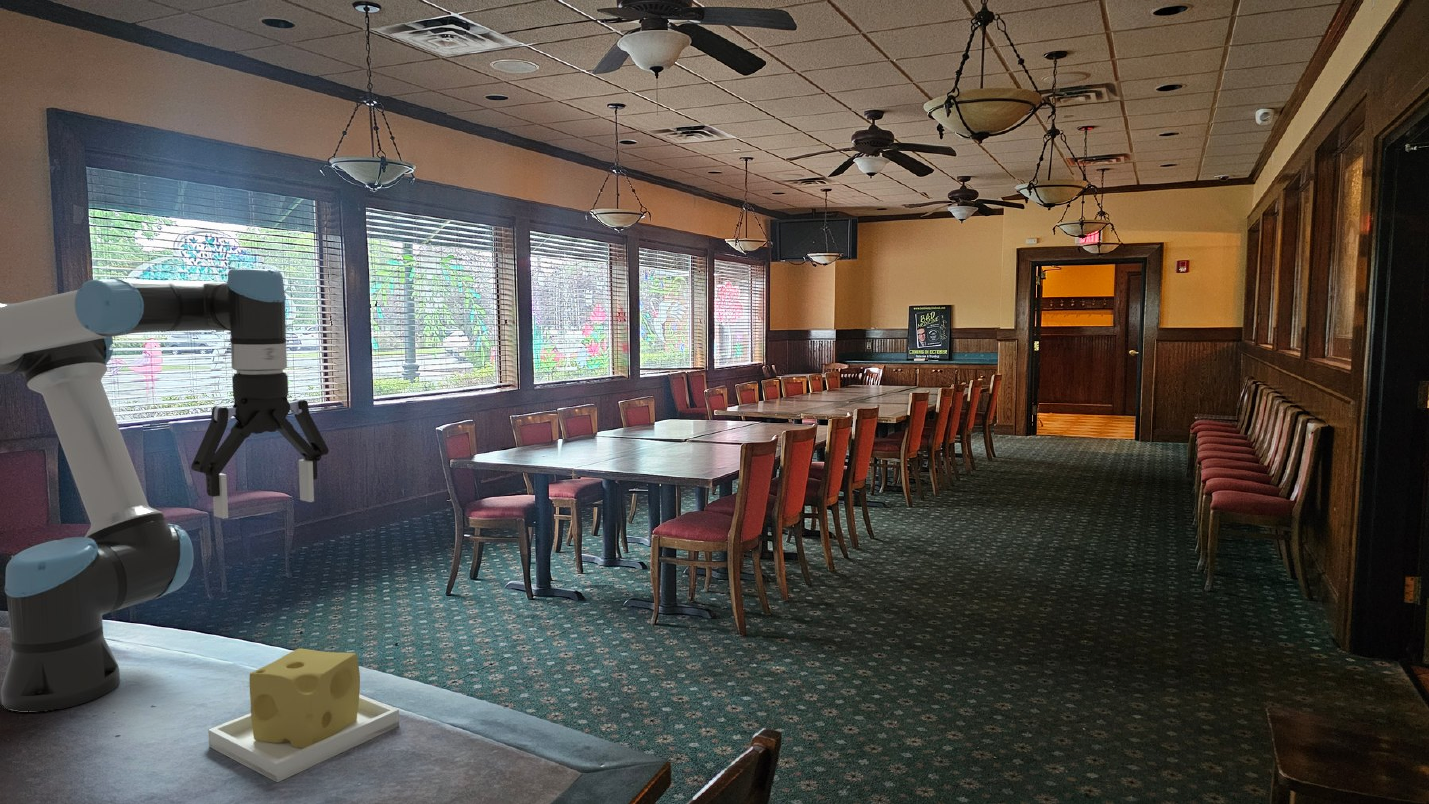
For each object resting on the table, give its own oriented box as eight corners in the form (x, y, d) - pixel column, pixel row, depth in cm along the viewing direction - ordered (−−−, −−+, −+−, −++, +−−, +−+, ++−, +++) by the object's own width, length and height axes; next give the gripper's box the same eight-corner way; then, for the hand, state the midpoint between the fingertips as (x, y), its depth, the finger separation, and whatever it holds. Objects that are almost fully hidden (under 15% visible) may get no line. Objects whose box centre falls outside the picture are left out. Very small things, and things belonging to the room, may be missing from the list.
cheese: (312, 752, 122) (308, 681, 121) (247, 741, 125) (243, 671, 124) (362, 718, 132) (360, 652, 131) (301, 708, 135) (298, 644, 134)
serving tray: (209, 746, 125) (208, 729, 125) (330, 697, 141) (330, 682, 140) (277, 782, 116) (276, 763, 116) (399, 725, 132) (398, 709, 131)
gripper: (186, 378, 125) (193, 528, 128) (348, 368, 145) (352, 497, 148) (160, 375, 129) (168, 520, 132) (321, 365, 150) (326, 491, 152)
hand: (265, 508), depth 140 cm, fingers open, 13 cm apart
